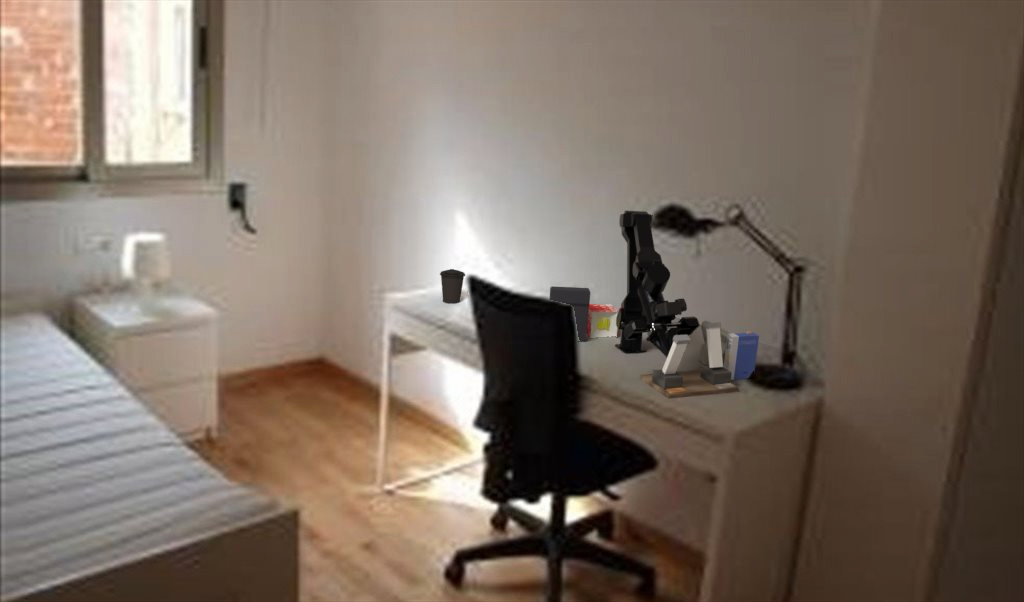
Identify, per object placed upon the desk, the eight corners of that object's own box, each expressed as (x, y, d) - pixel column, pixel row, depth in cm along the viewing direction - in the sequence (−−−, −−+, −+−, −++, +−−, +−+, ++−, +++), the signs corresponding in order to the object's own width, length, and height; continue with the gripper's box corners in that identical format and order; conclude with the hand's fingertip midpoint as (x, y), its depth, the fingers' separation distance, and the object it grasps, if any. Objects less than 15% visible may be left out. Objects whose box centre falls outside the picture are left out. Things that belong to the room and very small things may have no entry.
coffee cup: (454, 296, 307) (455, 266, 305) (469, 302, 301) (470, 272, 299) (433, 299, 302) (434, 269, 299) (448, 306, 296) (449, 275, 293)
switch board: (640, 378, 241) (641, 363, 240) (707, 372, 248) (709, 358, 247) (668, 398, 229) (669, 382, 228) (738, 391, 236) (740, 376, 235)
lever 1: (660, 369, 234) (674, 335, 227) (673, 368, 235) (687, 334, 228) (664, 375, 232) (677, 340, 226) (676, 374, 234) (690, 339, 227)
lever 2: (707, 367, 240) (704, 323, 240) (720, 366, 241) (716, 322, 241) (712, 367, 238) (708, 322, 238) (724, 366, 239) (720, 322, 240)
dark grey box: (584, 337, 272) (588, 287, 268) (586, 342, 268) (590, 291, 264) (546, 336, 272) (550, 285, 268) (547, 340, 267) (551, 289, 263)
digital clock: (749, 375, 249) (754, 336, 246) (717, 376, 247) (721, 336, 244) (722, 355, 264) (727, 318, 261) (692, 355, 262) (696, 318, 259)
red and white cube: (590, 338, 272) (592, 311, 270) (582, 330, 280) (584, 304, 278) (616, 338, 274) (619, 311, 272) (608, 330, 281) (611, 304, 279)
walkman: (747, 374, 249) (753, 331, 246) (753, 378, 246) (759, 334, 243) (721, 376, 246) (726, 332, 243) (726, 380, 244) (732, 335, 241)
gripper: (633, 288, 229) (651, 346, 222) (699, 285, 236) (719, 341, 229) (615, 310, 238) (632, 367, 231) (680, 307, 245) (698, 361, 238)
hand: (671, 358), depth 232 cm, fingers closed, pressing on lever 1
